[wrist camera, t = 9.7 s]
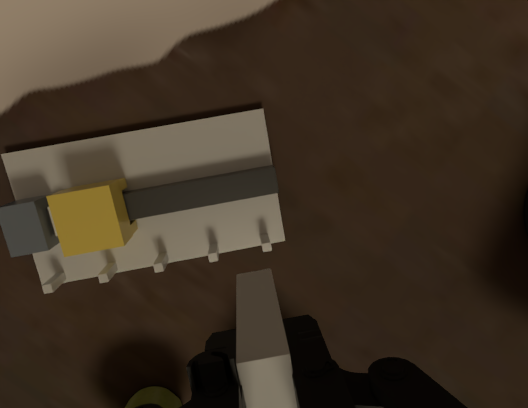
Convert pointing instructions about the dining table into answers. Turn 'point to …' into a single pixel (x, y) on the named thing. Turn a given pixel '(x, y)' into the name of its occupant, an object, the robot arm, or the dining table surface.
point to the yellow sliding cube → (91, 217)
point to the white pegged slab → (151, 195)
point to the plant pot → (154, 398)
